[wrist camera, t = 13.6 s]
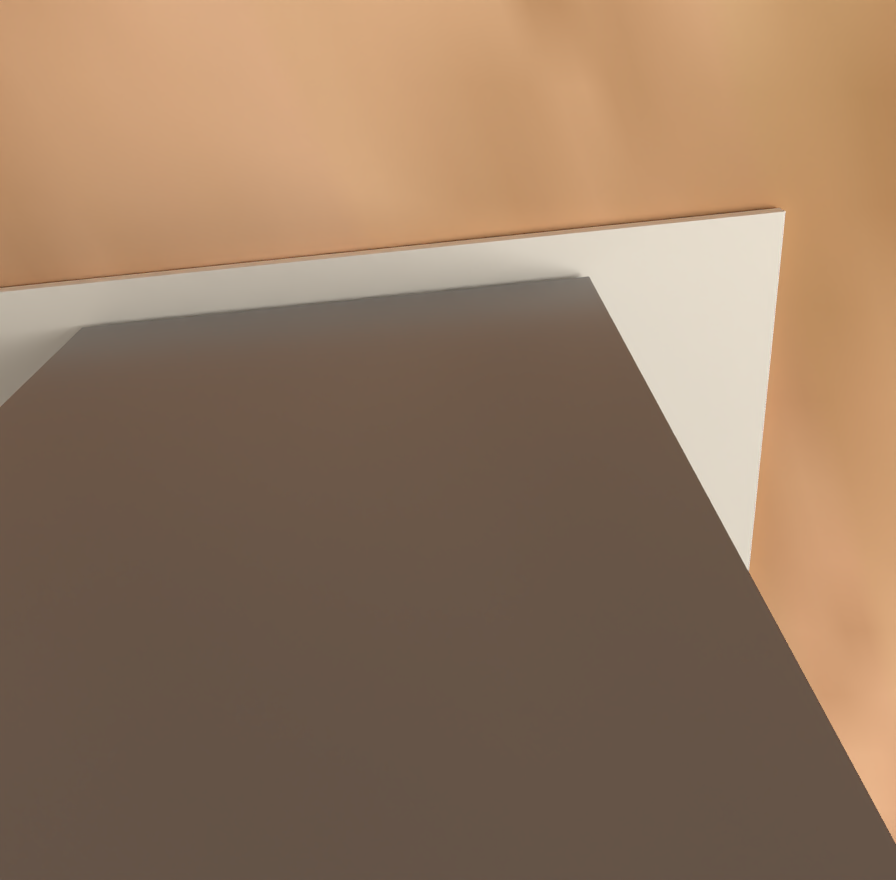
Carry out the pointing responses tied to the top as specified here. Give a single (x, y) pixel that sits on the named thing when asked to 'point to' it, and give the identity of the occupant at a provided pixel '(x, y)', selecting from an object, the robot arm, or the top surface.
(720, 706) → the grey rectangular block
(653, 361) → the white square plate
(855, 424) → the top surface
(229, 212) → the top surface
